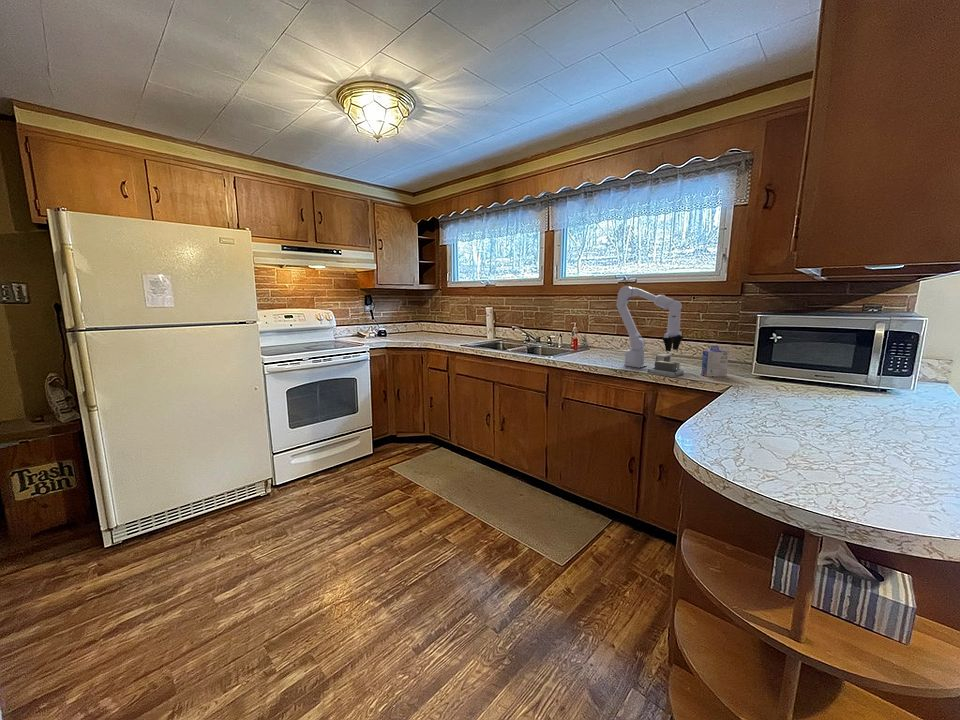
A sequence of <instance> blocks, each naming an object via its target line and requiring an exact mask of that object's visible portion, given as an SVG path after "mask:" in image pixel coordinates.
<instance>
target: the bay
mask: <svg viewBox="0 0 960 720" xmlns="http://www.w3.org/2000/svg"><path fill="white" fill-rule="evenodd" d="M672 356H673V354H672V353H660V354H655V361H666V362H673V363H677V365H676V368H677V370H681V368H680V367H681V362H679V361H672V360H671V359H672Z"/></svg>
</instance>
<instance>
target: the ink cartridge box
mask: <svg viewBox="0 0 960 720" xmlns="http://www.w3.org/2000/svg"><path fill="white" fill-rule="evenodd" d="M701 357H702V358H701V374H702V375H701V374H700V375H701V376H703V375H704V377H706V376H707V377H708V378H710V377H712V376H713V377H727V374H728V365H729V364H728V362H729V351H727V350H725V349H724V350H723V349H720V347H719V345H710V350H702V356H701Z"/></svg>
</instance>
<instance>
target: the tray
mask: <svg viewBox="0 0 960 720" xmlns="http://www.w3.org/2000/svg"><path fill="white" fill-rule="evenodd" d="M654 367H655V366H652V367H649V368H647V369H646V372H647V373H649V372H651V373H650V374H655V373H657V374H658V375H662V374H663V376H670V377H675V378H676V377H678V376H681V374H682V375H684V374H685V373H684V372H685V370H683V369H676V372H668V371H662V370H655V369H654Z"/></svg>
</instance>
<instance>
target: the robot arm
mask: <svg viewBox="0 0 960 720" xmlns="http://www.w3.org/2000/svg"><path fill="white" fill-rule="evenodd" d="M632 297H640V298H643V299H646V300H648V301H651V302H653V303H654V305H655V306H656V307H659V308H662V309H665V310H668V317H667V318H668V319H667V329H666V333H663V337H662V338H661V340H662V341H663V343H664V349H665V352H671V351H672V350H674V351H678V350H679V348H680V345H681V342H682V340H683V339H684V336H682V334H683V333H682V331H680V330H681V329H680V328H681V319H682V318H681V317H682V316H681V314H682V311H681V309H682V308H683V305H682V302H680V301H679V300H675V298H670V297H668V296H666V295H665V294H657V295H655V294H652V293H650V292H648V291H645V290H643V289H641V288H638V287H633V286H629V285H626V286H624V285H623V286H622V287H621V288H619V291H618V292H617V300H616V303H615V304H616V308H617V311H618V312H619V315H620V317H621V320H622V322H623V324H624V327H625V329H626V331H627V334H628V338H629V341H630V345H629V346H630V348H628V349H627V350H626V351H625V353H624V364H623V366H626V367H633V368H640V367H641V368H644V366H645V367H647V366H648V365H647V364H644V363H645V348H644V347H645V346H646V340H645V338H644V337H642V335H641V334H640V332H639V331H638V328H637V326H636V324H635V321H634V319H633V317H632V315H631V312H630V310H629V307H628V304H629V301H630V300H631V298H632Z"/></svg>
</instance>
